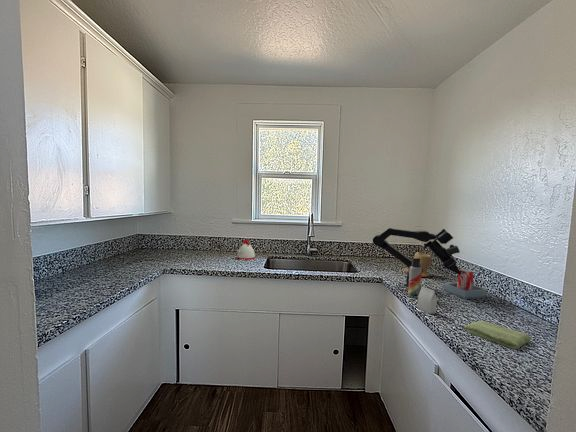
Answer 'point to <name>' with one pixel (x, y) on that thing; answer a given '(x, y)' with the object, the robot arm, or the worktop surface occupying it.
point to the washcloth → (498, 334)
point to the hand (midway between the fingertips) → (459, 272)
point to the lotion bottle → (415, 278)
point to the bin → (470, 294)
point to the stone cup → (422, 262)
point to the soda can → (465, 280)
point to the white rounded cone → (246, 251)
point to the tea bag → (427, 300)
